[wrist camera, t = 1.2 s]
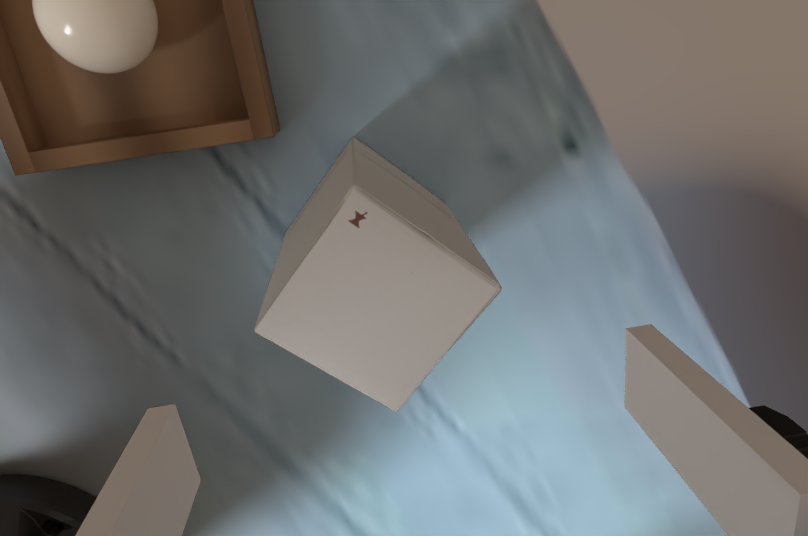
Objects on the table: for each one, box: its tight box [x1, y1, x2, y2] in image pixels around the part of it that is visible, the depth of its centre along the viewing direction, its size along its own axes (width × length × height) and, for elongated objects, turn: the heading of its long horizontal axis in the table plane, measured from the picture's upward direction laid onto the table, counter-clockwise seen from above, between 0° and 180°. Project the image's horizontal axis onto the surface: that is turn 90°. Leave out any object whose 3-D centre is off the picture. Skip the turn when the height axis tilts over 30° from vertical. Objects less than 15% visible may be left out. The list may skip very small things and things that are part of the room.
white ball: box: [32, 0, 158, 74], centre depth 25 cm, size 5×5×5 cm
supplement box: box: [254, 137, 501, 411], centre depth 27 cm, size 7×7×13 cm
